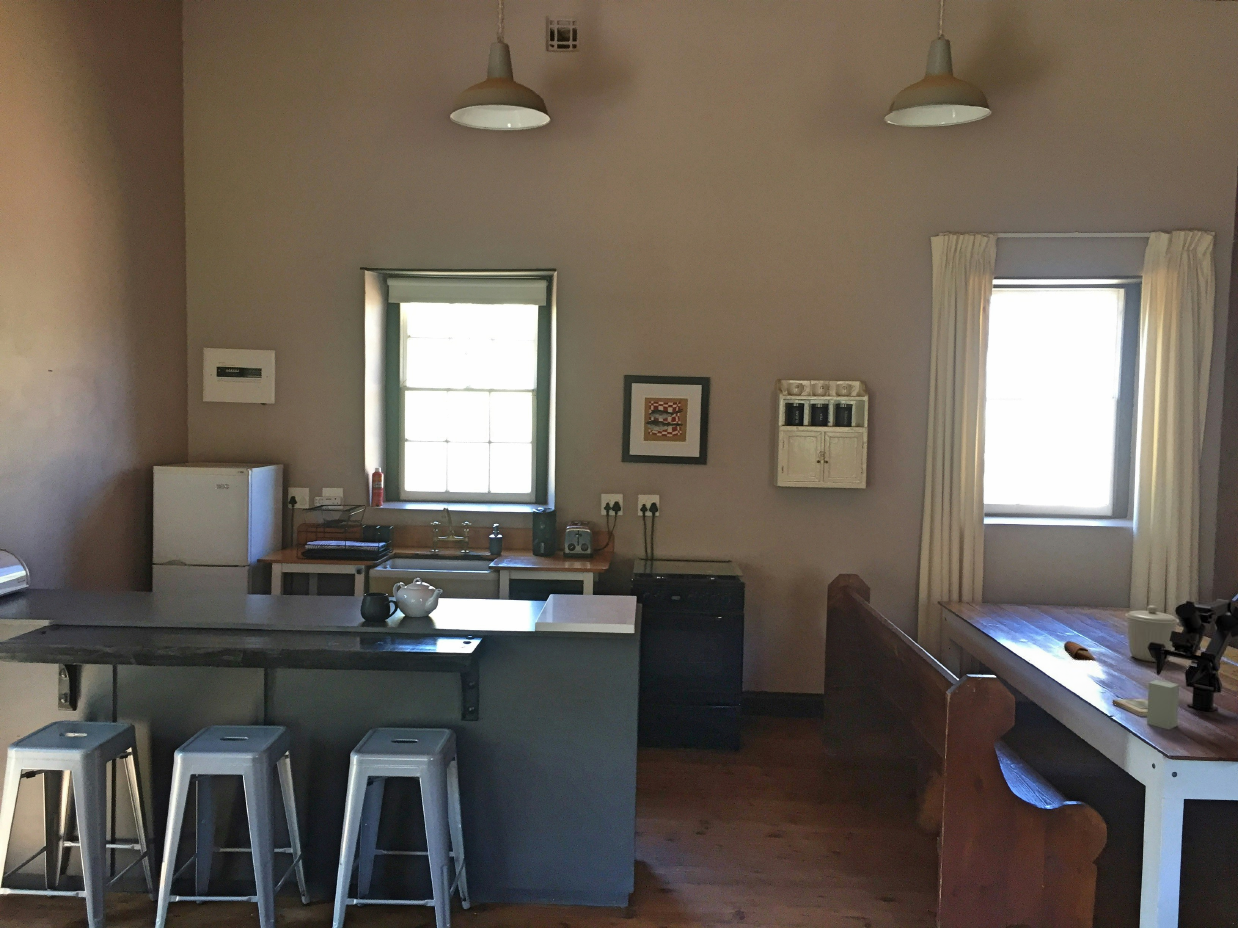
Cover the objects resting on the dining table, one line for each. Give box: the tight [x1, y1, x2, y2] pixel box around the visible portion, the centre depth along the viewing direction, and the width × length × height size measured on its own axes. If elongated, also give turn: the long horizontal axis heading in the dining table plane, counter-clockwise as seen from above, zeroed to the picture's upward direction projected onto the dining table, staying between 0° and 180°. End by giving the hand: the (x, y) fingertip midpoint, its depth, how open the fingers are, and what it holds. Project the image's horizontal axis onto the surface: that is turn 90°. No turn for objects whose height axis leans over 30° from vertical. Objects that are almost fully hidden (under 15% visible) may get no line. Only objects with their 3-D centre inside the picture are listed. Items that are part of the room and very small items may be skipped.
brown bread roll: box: [1063, 640, 1097, 662], centre depth 352 cm, size 18×7×7 cm, turn 165°
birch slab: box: [1111, 698, 1148, 717], centre depth 281 cm, size 12×12×2 cm
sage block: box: [1146, 679, 1180, 730], centre depth 267 cm, size 6×6×12 cm
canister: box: [1124, 605, 1180, 663], centre depth 347 cm, size 18×18×21 cm
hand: (1174, 677), depth 271 cm, fingers open, 9 cm apart
